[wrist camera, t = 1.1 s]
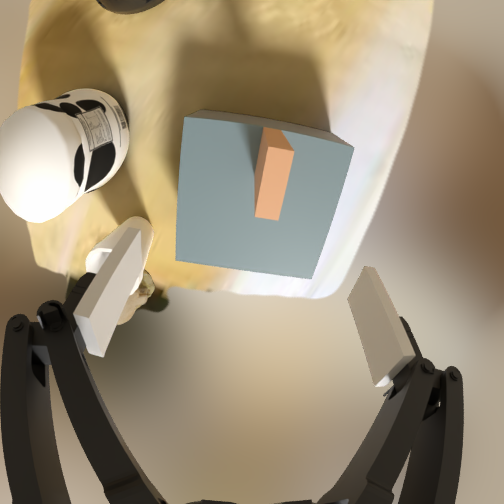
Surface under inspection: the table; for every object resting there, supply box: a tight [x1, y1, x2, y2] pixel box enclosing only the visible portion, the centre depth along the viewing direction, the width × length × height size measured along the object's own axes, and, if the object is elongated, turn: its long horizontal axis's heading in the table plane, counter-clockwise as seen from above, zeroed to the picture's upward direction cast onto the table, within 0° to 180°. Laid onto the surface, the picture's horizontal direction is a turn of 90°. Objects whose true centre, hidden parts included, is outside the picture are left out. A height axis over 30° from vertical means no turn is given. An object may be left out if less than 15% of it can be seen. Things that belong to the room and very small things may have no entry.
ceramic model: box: [116, 270, 154, 325], centre depth 53 cm, size 14×11×10 cm
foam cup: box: [86, 216, 154, 295], centre depth 43 cm, size 10×9×13 cm
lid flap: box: [176, 116, 354, 279], centre depth 30 cm, size 20×20×12 cm
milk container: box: [0, 88, 129, 223], centre depth 31 cm, size 17×17×18 cm
